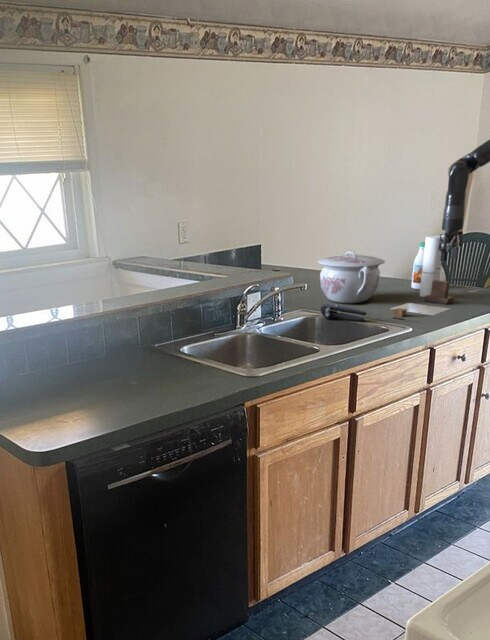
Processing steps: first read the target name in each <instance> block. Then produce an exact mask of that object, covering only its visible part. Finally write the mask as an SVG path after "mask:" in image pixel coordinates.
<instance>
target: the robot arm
mask: <svg viewBox="0 0 490 640" xmlns="http://www.w3.org/2000/svg"><path fill="white" fill-rule="evenodd" d="M489 163H490V138H489V139H488V140H486V141H484V142H483V143H482V144H480V145H479V146H477V147H476V148H475V149H473V150H472V151H471V152H468V153H467V154H466V155H464V156H462V157H461V158H459V159H457V160H456V161H454V162H452V164H450V166H449V167H448V169H447V175H448V183H447V184H448V185H447V191H446V193H445V194H446V195H445V202H444V208H443V214H442V222H441V223H442V224H441V230H442V231H444V234H439V236H440V239H439V247H438V250H440V251H441V259H440V261H442V263H445V262H447V260H448V252H449V249H450V248H451V253H450V254H451V255H450V259H452V260H456V259H458V254H459V249H460V248H461V247H462V246H463V236H464V231H463V229H464V221H465V212H466V197H467V187H468V184H469V179H470V174H472V173H473V172H475V171H477V170H478V169H480V168H482V167H484V166H486V165H487V164H489ZM441 244H442V247H441Z"/></svg>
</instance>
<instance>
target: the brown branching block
mask: <svg viewBox="0 0 490 640" xmlns="http://www.w3.org/2000/svg"><path fill="white" fill-rule="evenodd" d="M450 283H451V282H450V281H446V280H439V281H438V280H435V281H433V282H432V290H431V294H429V295H426V296H424V297H423V298H424V299H423V300H424V303H430V304H436V305H444V306H447V305H450V304H453V302H454V301H455V296H450V295H449V291H450Z"/></svg>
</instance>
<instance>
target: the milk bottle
mask: <svg viewBox="0 0 490 640" xmlns="http://www.w3.org/2000/svg"><path fill="white" fill-rule="evenodd" d="M418 248H419V249H418V252H417V255H416V256H415V258H414V261H413V265H412V266H413V267H412V274H411V275H412V277H411V284H410V285H411V286H410V287H411V289H415V290H420V286H421V277H422V268H423V259H424V250H425V242H419V244H418Z"/></svg>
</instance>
